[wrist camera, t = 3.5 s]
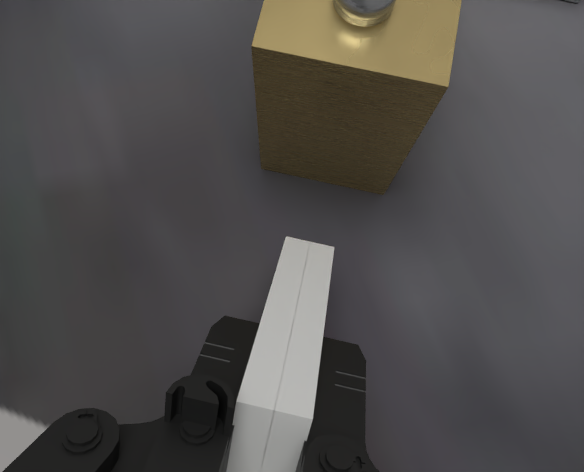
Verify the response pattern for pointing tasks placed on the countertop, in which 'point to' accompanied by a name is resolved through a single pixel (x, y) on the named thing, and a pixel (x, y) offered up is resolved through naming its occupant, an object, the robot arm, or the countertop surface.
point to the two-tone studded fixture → (573, 1)
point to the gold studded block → (349, 84)
